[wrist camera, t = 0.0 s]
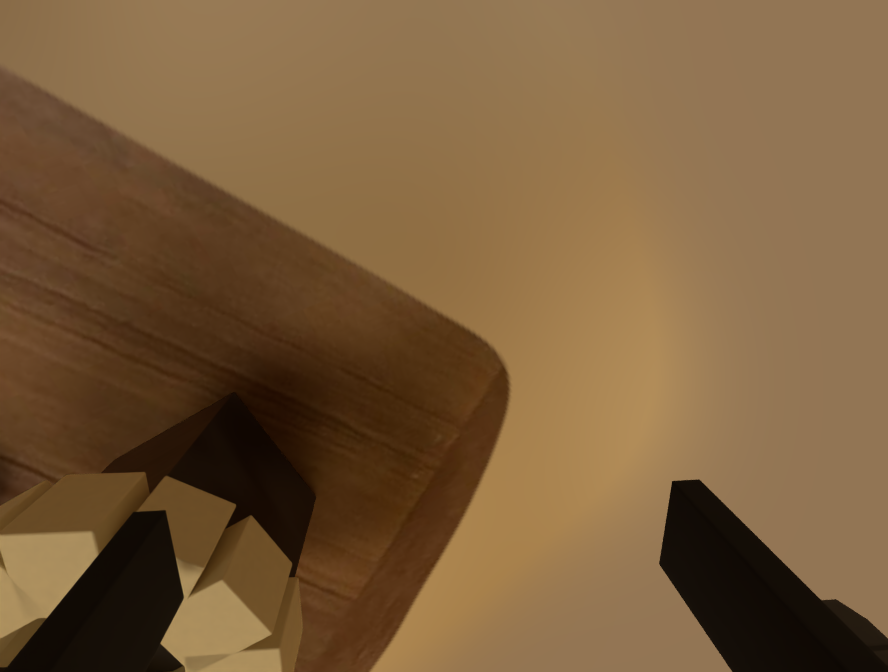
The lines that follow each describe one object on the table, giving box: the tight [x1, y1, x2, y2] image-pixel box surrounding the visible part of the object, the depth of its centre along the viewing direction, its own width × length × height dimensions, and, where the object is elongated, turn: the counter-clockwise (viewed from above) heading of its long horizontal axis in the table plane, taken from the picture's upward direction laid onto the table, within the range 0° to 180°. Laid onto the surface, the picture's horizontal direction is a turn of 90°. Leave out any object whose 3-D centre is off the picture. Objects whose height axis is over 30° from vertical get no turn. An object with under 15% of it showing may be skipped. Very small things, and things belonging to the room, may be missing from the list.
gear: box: [0, 472, 303, 672], centre depth 16 cm, size 11×11×3 cm
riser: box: [102, 393, 316, 672], centre depth 21 cm, size 7×7×8 cm
